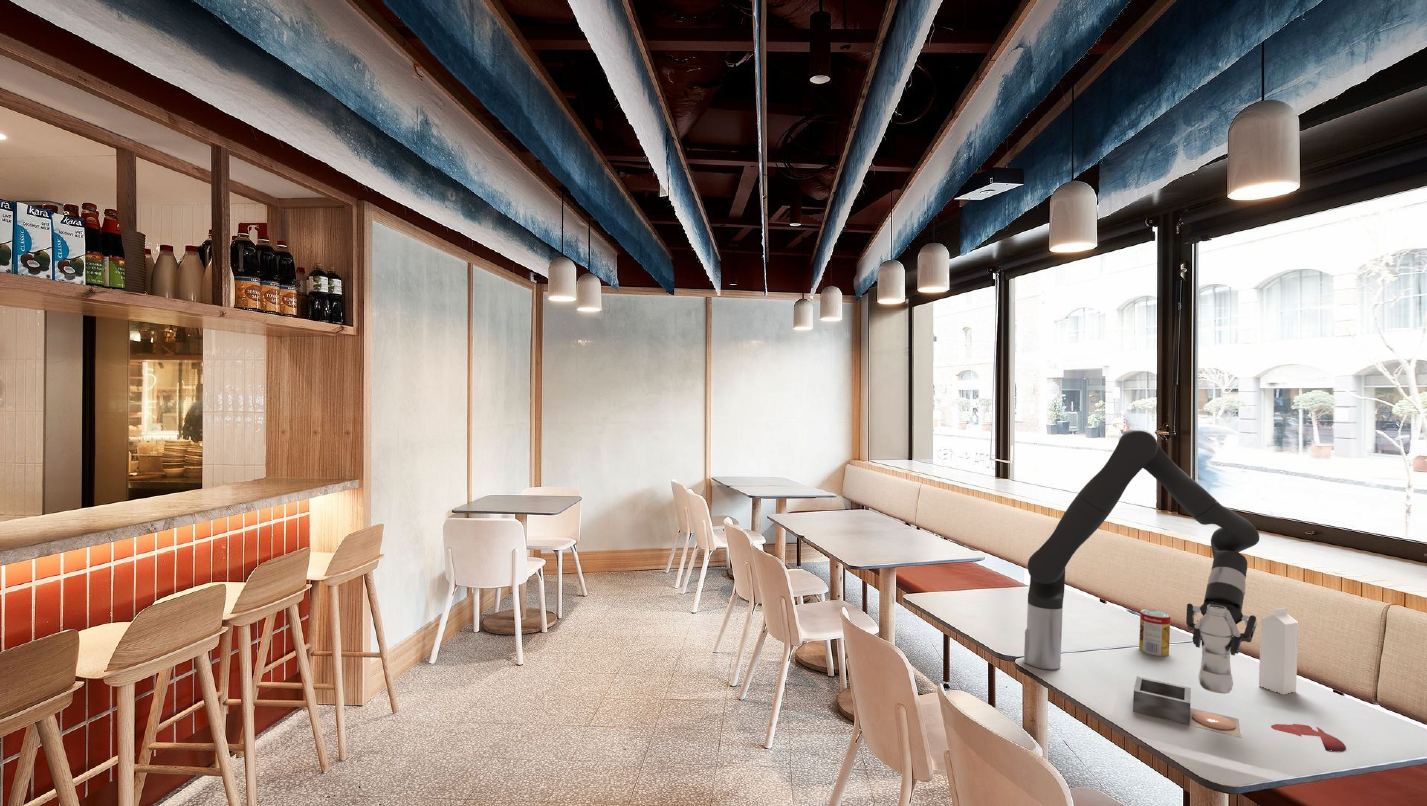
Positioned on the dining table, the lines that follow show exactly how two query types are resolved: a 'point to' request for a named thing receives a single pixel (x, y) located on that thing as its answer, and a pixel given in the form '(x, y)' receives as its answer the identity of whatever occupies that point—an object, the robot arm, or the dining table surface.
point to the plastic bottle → (1216, 651)
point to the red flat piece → (1299, 730)
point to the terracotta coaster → (1213, 721)
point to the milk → (1278, 652)
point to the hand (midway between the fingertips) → (1214, 649)
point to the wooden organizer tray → (1171, 704)
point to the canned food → (1154, 632)
